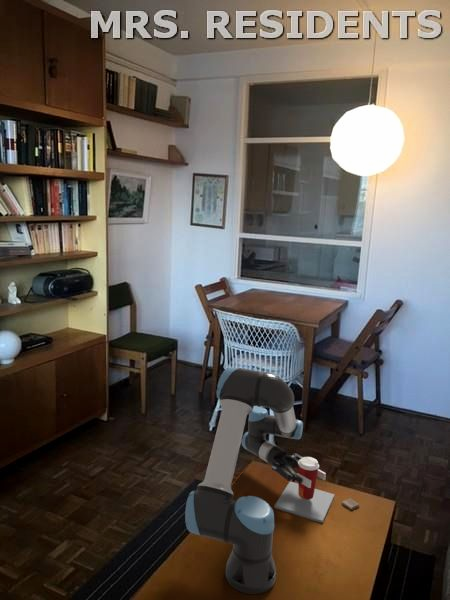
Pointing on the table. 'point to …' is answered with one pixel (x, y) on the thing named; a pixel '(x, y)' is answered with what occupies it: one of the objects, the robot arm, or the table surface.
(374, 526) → the table surface
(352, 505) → the block
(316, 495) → the slate board
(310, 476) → the paper cup
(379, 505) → the table surface
